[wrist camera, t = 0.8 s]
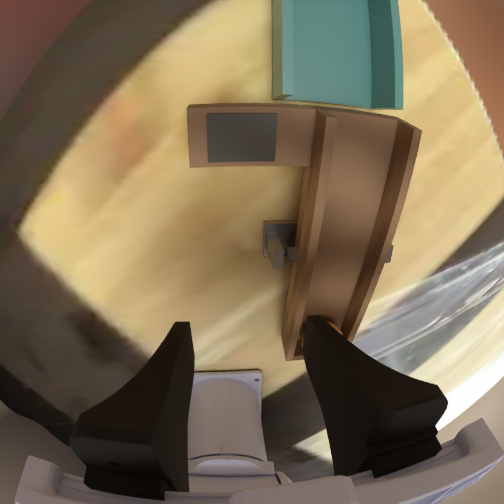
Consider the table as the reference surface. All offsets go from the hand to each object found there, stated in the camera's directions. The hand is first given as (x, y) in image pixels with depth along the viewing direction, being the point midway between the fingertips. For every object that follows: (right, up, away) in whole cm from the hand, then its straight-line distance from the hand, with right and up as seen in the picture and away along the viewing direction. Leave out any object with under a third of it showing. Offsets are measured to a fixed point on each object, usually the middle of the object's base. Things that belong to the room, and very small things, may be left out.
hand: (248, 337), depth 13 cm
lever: (+3, +4, +6) cm, 8 cm away
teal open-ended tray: (+5, +18, +3) cm, 19 cm away
